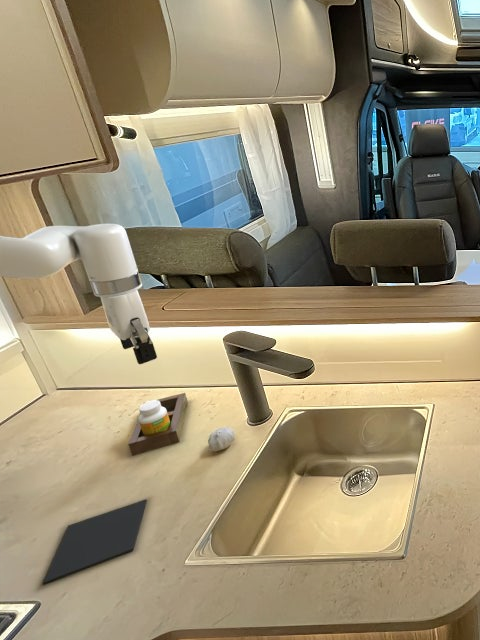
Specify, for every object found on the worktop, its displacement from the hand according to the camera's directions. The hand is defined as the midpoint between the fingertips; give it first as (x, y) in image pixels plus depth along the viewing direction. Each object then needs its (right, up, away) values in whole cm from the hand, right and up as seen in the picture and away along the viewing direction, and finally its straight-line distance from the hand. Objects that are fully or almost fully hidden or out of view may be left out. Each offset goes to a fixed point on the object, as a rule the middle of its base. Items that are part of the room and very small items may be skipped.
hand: (140, 353), depth 92 cm
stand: (-8, -23, +15) cm, 29 cm away
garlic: (+12, -26, +10) cm, 30 cm away
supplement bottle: (-6, -24, +12) cm, 28 cm away
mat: (+3, -33, -12) cm, 35 cm away
